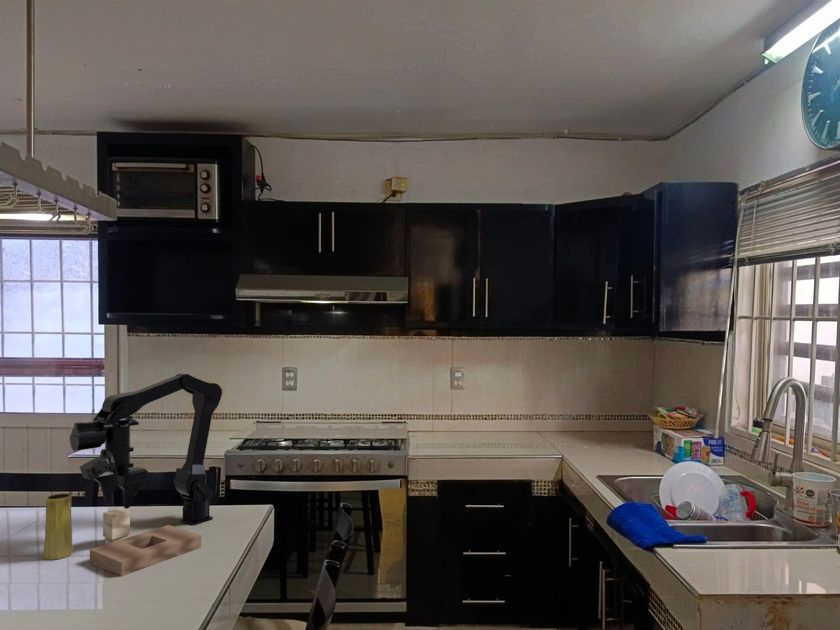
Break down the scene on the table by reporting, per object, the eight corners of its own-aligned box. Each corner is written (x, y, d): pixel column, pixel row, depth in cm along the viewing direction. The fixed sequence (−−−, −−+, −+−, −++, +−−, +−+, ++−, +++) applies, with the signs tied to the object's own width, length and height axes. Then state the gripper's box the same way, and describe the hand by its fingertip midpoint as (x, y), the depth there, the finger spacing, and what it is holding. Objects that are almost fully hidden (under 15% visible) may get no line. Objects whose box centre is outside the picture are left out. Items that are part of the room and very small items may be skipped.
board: (168, 536, 149) (168, 524, 149) (200, 547, 141) (201, 535, 141) (89, 562, 132) (89, 549, 132) (121, 576, 124) (121, 562, 125)
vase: (62, 560, 134) (63, 499, 134) (37, 560, 134) (37, 499, 134) (78, 550, 140) (79, 492, 140) (53, 550, 140) (54, 492, 140)
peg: (120, 538, 148) (120, 507, 148) (129, 542, 145) (130, 510, 145) (102, 544, 144) (103, 512, 144) (112, 547, 141) (112, 515, 142)
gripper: (66, 446, 144) (66, 507, 143) (104, 454, 133) (104, 520, 133) (110, 438, 153) (110, 496, 153) (149, 446, 143) (149, 508, 142)
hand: (117, 505), depth 145 cm, fingers open, 9 cm apart
